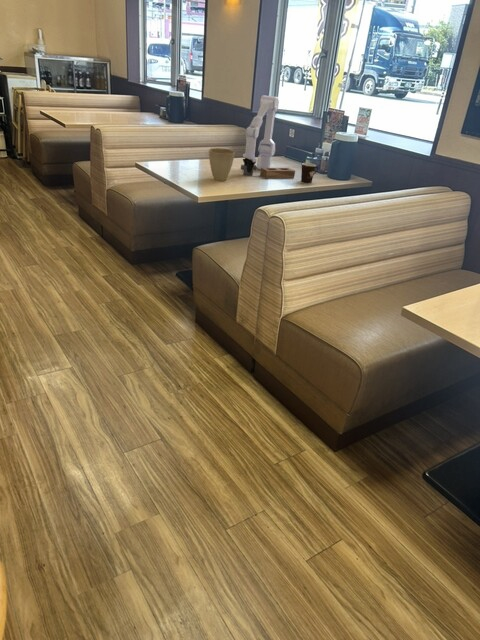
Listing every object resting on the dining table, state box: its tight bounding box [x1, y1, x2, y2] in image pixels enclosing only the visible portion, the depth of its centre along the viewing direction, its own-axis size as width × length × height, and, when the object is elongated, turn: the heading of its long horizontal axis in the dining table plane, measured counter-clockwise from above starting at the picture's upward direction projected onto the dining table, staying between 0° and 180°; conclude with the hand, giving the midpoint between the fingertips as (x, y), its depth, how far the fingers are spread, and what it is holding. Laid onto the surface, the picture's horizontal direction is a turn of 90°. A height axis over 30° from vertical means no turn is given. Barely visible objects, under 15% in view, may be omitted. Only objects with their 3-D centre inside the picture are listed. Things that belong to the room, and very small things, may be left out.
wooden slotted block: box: [259, 167, 296, 179], centre depth 291 cm, size 8×20×4 cm, turn 115°
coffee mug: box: [300, 162, 319, 184], centre depth 286 cm, size 12×9×10 cm
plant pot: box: [208, 147, 236, 182], centre depth 268 cm, size 15×15×16 cm
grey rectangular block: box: [240, 164, 257, 177], centre depth 287 cm, size 3×9×6 cm, turn 115°
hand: (248, 171), depth 288 cm, fingers closed on grey rectangular block, 3 cm apart
